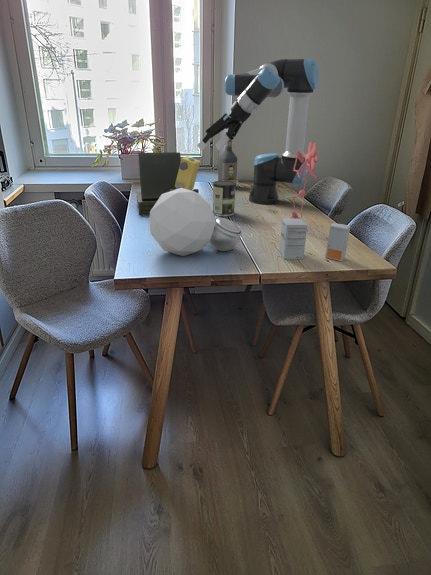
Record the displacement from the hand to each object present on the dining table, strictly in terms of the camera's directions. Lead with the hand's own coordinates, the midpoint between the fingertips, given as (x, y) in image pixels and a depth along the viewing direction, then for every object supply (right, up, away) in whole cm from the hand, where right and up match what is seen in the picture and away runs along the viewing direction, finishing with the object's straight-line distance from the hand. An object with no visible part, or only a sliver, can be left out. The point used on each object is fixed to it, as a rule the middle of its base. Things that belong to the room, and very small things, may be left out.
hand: (208, 148), depth 171 cm
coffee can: (+6, -21, +29) cm, 37 cm away
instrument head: (-11, -14, +10) cm, 20 cm away
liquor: (+9, +2, +77) cm, 78 cm away
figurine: (+41, -30, +12) cm, 52 cm away
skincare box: (+45, -45, -18) cm, 66 cm away
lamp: (-4, -43, -15) cm, 45 cm away
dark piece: (-23, -18, +35) cm, 45 cm away
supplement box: (+30, -44, -17) cm, 56 cm away
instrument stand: (-11, -27, +16) cm, 33 cm away
